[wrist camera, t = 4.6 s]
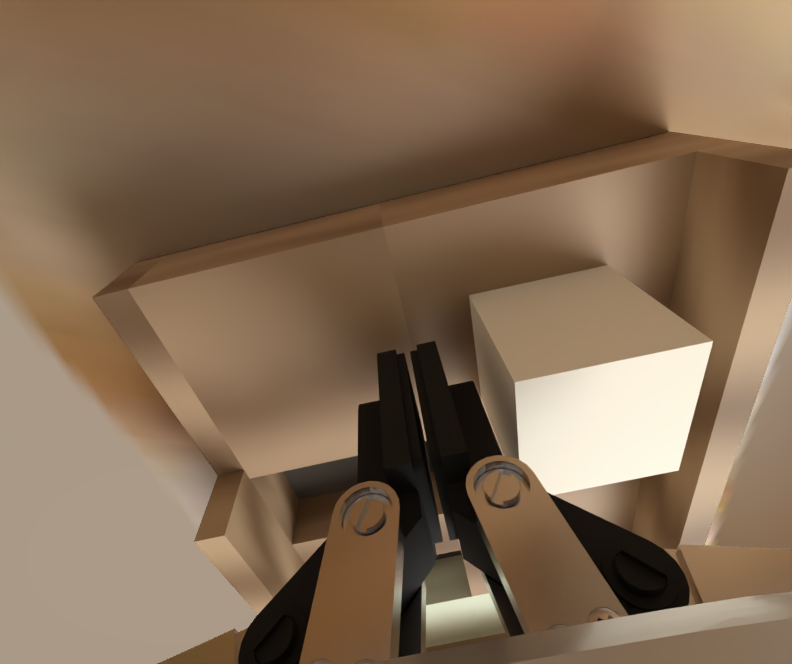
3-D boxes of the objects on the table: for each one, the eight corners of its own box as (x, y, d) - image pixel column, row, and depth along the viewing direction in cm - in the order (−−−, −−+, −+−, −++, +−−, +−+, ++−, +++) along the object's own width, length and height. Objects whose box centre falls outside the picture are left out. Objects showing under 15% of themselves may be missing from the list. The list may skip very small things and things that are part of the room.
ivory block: (468, 295, 12) (514, 382, 8) (607, 264, 11) (713, 341, 8) (480, 397, 14) (521, 501, 10) (598, 373, 13) (678, 470, 10)
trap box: (136, 262, 13) (26, 349, 9) (670, 131, 12) (841, 156, 8) (354, 621, 26) (353, 724, 22) (611, 571, 26) (661, 668, 21)
